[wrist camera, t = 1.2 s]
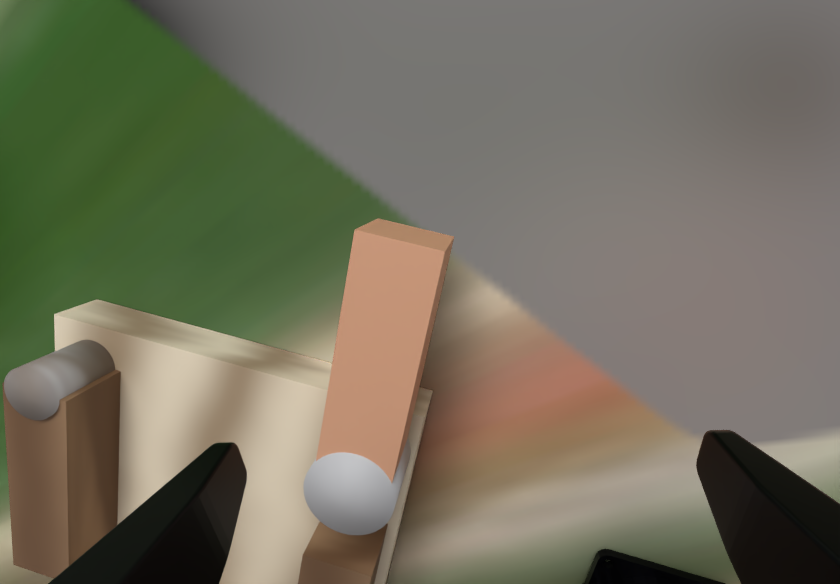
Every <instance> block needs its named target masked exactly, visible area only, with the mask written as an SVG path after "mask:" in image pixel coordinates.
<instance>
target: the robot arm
mask: <svg viewBox="0 0 840 584" xmlns="http://www.w3.org/2000/svg"><path fill="white" fill-rule="evenodd" d="M696 466H697V472H698V475H699V478H700V481H701V484H702V486H703V489H704V492H705V495H706V497H707V500H708V503H709V506H710V508H711V511H712V514H713V516H714V519H715V522H716V525H717V527H718V530H719V533H720V536H721V538H722V541H723V544H724V546H725V549H726V551H727V554H728V556H729V558H730V561H731V563H732V565H733V567H734V569H735V572H736V574H737V576H738V578H739V580H740V582H741V584H840V504H839V503H838V502H836V501H835V500H834V499H832V498H831V497H829V496H828V495H826V494H825V493H823V492H822V491H820V490H819V489H817V488H816V487H814V486H813V485H812V484H810V483H809V482H807V481H806V480H804V479H803V478H801V477H800V476H798V475H797V474H795V473H794V472H792V471H791V470H789V469H788V468H787V467H785V466H784V465H782V464H781V463H779V462H778V461H776V460H775V459H773V458H772V457H770V456H769V455H767V454H766V453H764V452H763V451H762V450H760V449H759V448H757V447H756V446H754V445H753V444H751V443H750V442H748V441H747V440H745V439H744V438H742V437H741V436H740V435H738V434H736V433H735V432H733V431H730V430H710V431H707V432H706V433H705V435H704V437H703V441H702V444H701V447H700V451H699V454H698V458H697V464H696ZM246 482H247V470H246V467H245V464H244V462H243V459H242V456H241V453H240V451H239V448H238V446H237V445H236V444H235V443H233V442H219V443H214V444H213V445H211V446H210V447H209V448H207V449H206V450H205V451H204V452H203V453H202V454H200V455H199V456H198V457H197V458H196V459H194V460H193V461H192V462H191V463H190V464H189V465H187V466H186V467H185V468H184V469H183V470H181V471H180V472H179V473H178V474H177V475H176V476H174V477H173V478H172V479H171V480H170V481H169V482H167V483H166V484H165V485H164V486H163V487H161V488H160V489H159V490H158V491H157V492H156V493H154V494H153V495H152V496H151V497H150V498H149V499H147V500H146V501H145V502H144V503H143V504H141V505H140V506H139V507H138V508H137V509H136V510H134V511H133V512H132V513H131V514H130V515H129V516H127V517H126V518H125V519H124V520H123V521H121V522H120V523H119V524H118V525H117V526H116V527H114V528H113V529H112V530H111V531H110V532H108V533H107V534H106V535H105V536H104V537H103V538H101V539H100V540H99V541H98V542H97V543H96V544H94V545H93V546H92V547H91V548H90V549H88V550H87V551H86V552H85V553H84V554H83V555H81V556H80V557H79V558H78V559H77V560H76V561H74V562H73V563H72V564H71V565H70V566H68V567H67V568H66V569H65V570H64V571H63V572H61V573H60V574H59V575H58V576H57V577H55V578H54V579H53V580H52V581H51V582H50V583H48V584H219V582H220V580H221V577H222V574H223V571H224V568H225V565H226V562H227V559H228V555H229V552H230V548H231V544H232V540H233V536H234V532H235V527H236V523H237V519H238V515H239V511H240V507H241V503H242V499H243V495H244V490H245V486H246ZM604 560H610V561H608V562H605V561H604ZM582 584H725V583H721V582H718V581H715V580H711V579H708V578H704V577H701V576H698V575H694V574H691V573H687V572H684V571H681V570H677V569H674V568H670V567H667V566H664V565H660V564H657V563H654V562H650V561H647V560H643V559H640V558H637V557H633V556H630V555H626V554H623V553H620V552H616V551H613V550H609V549H603V550H600V551H598V553H597V554H596V556H595V559H594V561H593V564H592V566H591V569H590V571H589V574H588V576H587V578H586V581H585V583H582Z"/></svg>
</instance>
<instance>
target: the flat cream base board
mask: <svg viewBox="0 0 840 584" xmlns="http://www.w3.org/2000/svg"><path fill="white" fill-rule="evenodd" d="M54 325H55V352H53V353H50V354H48V355H46V356H43V357H41V358H39V359H36V360H34V361H32V362H29V363H27V364H25V365H22V366H20V367H18V368H15V369H13V370H11V371H10V372H9V373H8V374H7V376H6V378H5V381H4V382H3V399H4V416H5V432H6V448H7V465H8V481H9V497H10V514H11V530H12V546H13V563H14V565H16V566H19V567H22V568H25V569H28V570H31V571H34V572H37V573H40V574H43V575H45V576H48V577H51V578H55V577H57V576H58V575H59V574H60V573H61V572H63V571H64V570H65V569H66V568H67V567H68V566H70V565H71V564H72V563H73V562H74V561H76V560H77V559H78V558H79V557H80V556H81V555H83V554H84V553H85V552H86V551H87V550H88V549H90V548H91V547H92V546H93V545H94V544H96V543H97V542H98V541H99V540H100V539H101V538H103V537H104V536H105V535H106V534H107V533H108V532H110V531H111V530H112V529H113V528H114V527H116V526H117V525H118V524H119V523H120V522H121V521H123V520H124V519H125V518H126V517H127V516H129V515H130V514H131V513H132V512H133V511H134V510H136V509H137V508H138V507H139V506H140V505H141V504H143V503H144V502H145V501H146V500H147V499H149V498H150V497H151V496H152V495H153V494H154V493H156V492H157V491H158V490H159V489H160V488H161V487H163V486H164V485H165V484H166V483H167V482H169V481H170V480H171V479H172V478H173V477H174V476H176V475H177V474H178V473H179V472H180V471H181V470H183V469H184V468H185V467H186V466H187V465H189V464H190V463H191V462H192V461H193V460H194V459H196V458H197V457H198V456H199V455H200V454H202V453H203V452H204V451H205V450H206V449H207V448H209V447H210V446H211V445H213V444H214V443H219V442H233V443H235V444H236V445H237V446H238V448H239V451H240V453H241V456H242V459H243V462H244V464H245V467H246V470H247V482H246V486H245V490H244V495H243V499H242V503H241V507H240V511H239V515H238V519H237V523H236V527H235V532H234V536H233V540H232V544H231V548H230V552H229V555H228V559H227V562H226V565H225V568H224V571H223V574H222V577H221V580H220V582H219V584H386V582H387V578H388V574H389V570H390V566H391V562H392V557H393V553H394V549H395V545H396V541H397V537H398V533H399V529H400V524H401V520H402V516H403V512H404V508H405V504H406V500H407V496H408V491H409V487H410V483H411V479H412V475H413V471H414V467H415V463H416V458H417V454H418V450H419V446H420V442H421V438H422V434H423V430H424V425H425V421H426V417H427V413H428V409H429V405H430V401H431V397H432V392H433V390H429V389H425V388H421V387H419V391H418V395H417V399H416V404H415V408H414V412H413V417H412V421H411V425H410V430H409V434H408V439H409V443H410V448H411V455H410V460H409V463H408V466H407V470H406V473H405V476H404V479H403V482H402V486H401V489H400V492H399V495H398V499H397V502H396V505H395V508H394V511H393V514H392V516H391V518H390V520H389V521H388V522H387V524H386V525H385V526H383V527H382V528H381V529H379V530H377V531H375V532H373V533H370V534H366V535H347V534H343V533H340V532H337V531H335V530H333V529H331V528H329V527H327V526H326V525H324V524H323V523H322V522H320V521H319V520H318V519H317V518H316V517H315V515H314V514H313V513H312V512H311V510H310V509H309V507H308V505H307V503H306V500H305V496H304V489H303V486H304V479H305V476H306V474H307V472H308V470H309V469H310V467H311V465H312V464H313V462H314V461H315V459H316V457H317V451H318V445H319V439H320V433H321V427H322V422H323V416H324V410H325V404H326V398H327V392H328V386H329V380H330V374H331V368H332V363H329V362H326V361H322V360H318V359H315V358H311V357H307V356H304V355H300V354H296V353H293V352H289V351H285V350H282V349H278V348H274V347H271V346H267V345H263V344H259V343H256V342H252V341H248V340H245V339H241V338H237V337H234V336H230V335H226V334H223V333H219V332H215V331H212V330H208V329H204V328H201V327H197V326H193V325H190V324H186V323H182V322H178V321H175V320H171V319H167V318H164V317H160V316H156V315H153V314H149V313H145V312H142V311H138V310H134V309H131V308H127V307H123V306H120V305H116V304H112V303H109V302H105V301H101V300H94V301H91V302H88V303H85V304H82V305H80V306H77V307H74V308H71V309H68V310H65V311H62V312H59V313H57V314H54Z"/></svg>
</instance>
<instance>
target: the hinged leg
mask: <svg viewBox="0 0 840 584" xmlns="http://www.w3.org/2000/svg"><path fill="white" fill-rule="evenodd" d="M453 240H454V237H453V236H449V235H445V234H441V233H437V232H432V231H428V230H424V229H420V228H416V227H411V226H407V225H403V224H399V223H394V222H390V221H386V220H382V219H376V220H374V221H372V222H370V223H368V224H366V225H363V226H361V227H359V228H357V229H355V231H354V237H353V243H352V249H351V255H350V261H349V267H348V273H347V279H346V285H345V291H344V297H343V302H342V308H341V314H340V320H339V326H338V332H337V338H336V344H335V350H334V356H333V362H332V368H331V374H330V380H329V386H328V392H327V398H326V404H325V410H324V416H323V422H322V427H321V433H320V439H319V445H318V451H317V457H316V459H315V461H314V462H313V464H312V465H311V467H310V469H309V470H308V472H307V474H306V476H305V479H304V486H303V489H304V496H305V500H306V503H307V505H308V507H309V509H310V510H311V512H312V513H313V514H314V515H315V517H316V518H317V519H318V520H319V521H320V522H322V523H323V524H324V525H326V526H327V527H329V528H331V529H333V530H335V531H337V532H340V533H343V534H347V535H366V534H370V533H373V532H375V531H377V530H379V529H381V528H382V527H383V526H385V525H386V524H387V522H388V521H389V520H390V518H391V516H392V514H393V511H394V508H395V505H396V502H397V499H398V495H399V492H400V489H401V486H402V482H403V479H404V476H405V473H406V470H407V466H408V463H409V460H410V455H411V448H410V443H409V439H408V434H409V430H410V425H411V421H412V417H413V412H414V408H415V404H416V399H417V395H418V391H419V387H420V382H421V378H422V374H423V369H424V365H425V361H426V356H427V352H428V348H429V343H430V339H431V335H432V331H433V326H434V322H435V318H436V313H437V309H438V305H439V300H440V296H441V292H442V288H443V283H444V279H445V275H446V270H447V266H448V262H449V257H450V253H451V249H452V244H453Z"/></svg>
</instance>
